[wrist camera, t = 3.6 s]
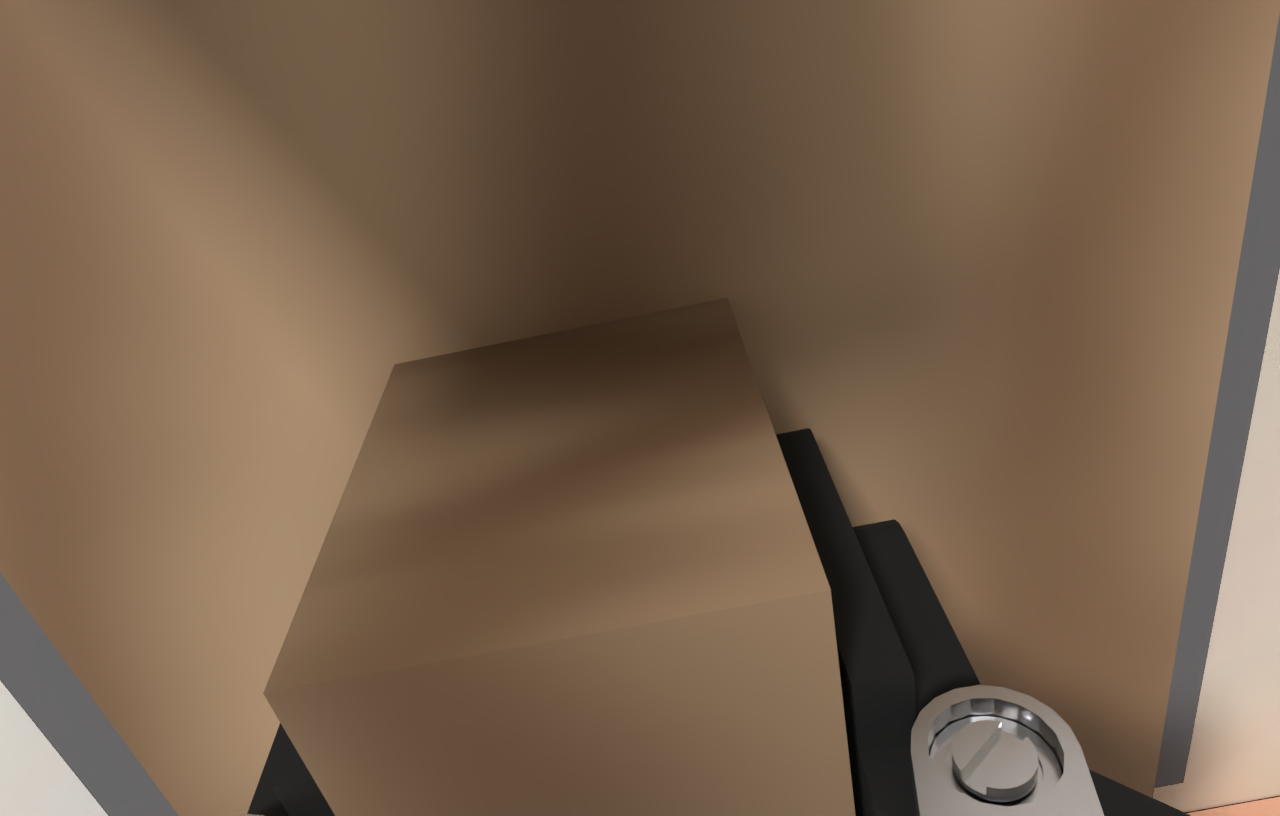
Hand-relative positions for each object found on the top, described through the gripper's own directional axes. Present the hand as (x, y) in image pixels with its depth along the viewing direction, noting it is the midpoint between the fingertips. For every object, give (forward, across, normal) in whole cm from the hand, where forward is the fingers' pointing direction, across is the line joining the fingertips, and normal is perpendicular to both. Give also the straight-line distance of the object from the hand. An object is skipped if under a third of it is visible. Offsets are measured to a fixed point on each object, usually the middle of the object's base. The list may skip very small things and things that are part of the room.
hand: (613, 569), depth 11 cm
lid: (+2, 0, 0) cm, 2 cm away
